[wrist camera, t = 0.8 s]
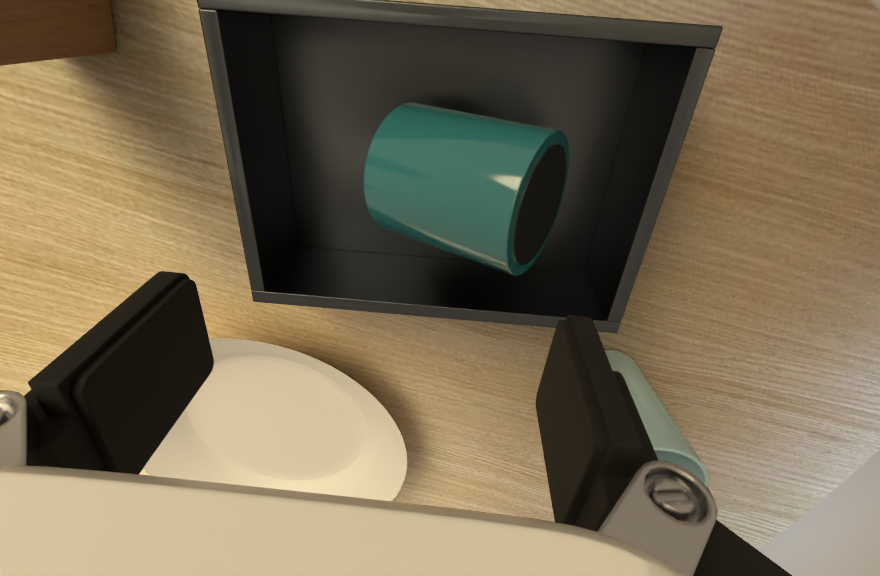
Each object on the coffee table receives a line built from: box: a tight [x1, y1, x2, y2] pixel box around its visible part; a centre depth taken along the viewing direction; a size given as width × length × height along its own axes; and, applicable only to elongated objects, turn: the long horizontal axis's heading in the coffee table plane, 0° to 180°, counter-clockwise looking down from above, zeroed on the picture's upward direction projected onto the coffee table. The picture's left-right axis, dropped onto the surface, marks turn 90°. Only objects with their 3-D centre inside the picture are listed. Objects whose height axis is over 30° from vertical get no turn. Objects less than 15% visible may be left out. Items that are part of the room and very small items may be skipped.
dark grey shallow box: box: [197, 0, 722, 333], centre depth 25 cm, size 16×22×7 cm
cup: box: [605, 350, 709, 488], centre depth 32 cm, size 8×8×10 cm
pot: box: [364, 102, 569, 276], centre depth 23 cm, size 7×7×8 cm
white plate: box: [144, 338, 407, 501], centre depth 40 cm, size 25×25×4 cm
